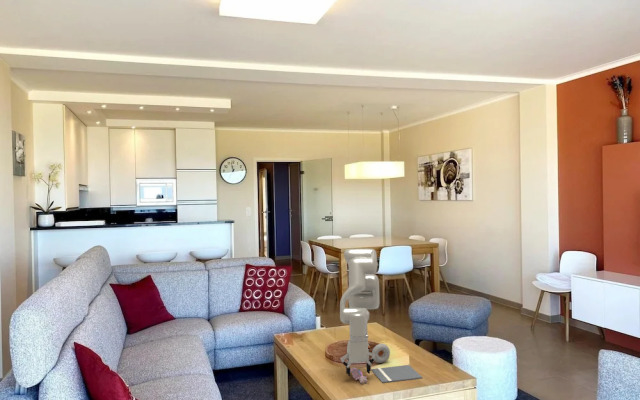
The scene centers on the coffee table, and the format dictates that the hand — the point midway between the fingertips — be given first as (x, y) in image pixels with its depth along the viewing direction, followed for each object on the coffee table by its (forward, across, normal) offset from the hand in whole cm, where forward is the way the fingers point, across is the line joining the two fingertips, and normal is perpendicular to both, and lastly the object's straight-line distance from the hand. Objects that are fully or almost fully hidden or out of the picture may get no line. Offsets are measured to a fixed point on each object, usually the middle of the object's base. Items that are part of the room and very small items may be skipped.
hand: (358, 373), depth 228 cm
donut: (+2, -17, -16) cm, 24 cm away
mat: (+2, -19, 0) cm, 19 cm away
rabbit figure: (+3, 0, 0) cm, 3 cm away
